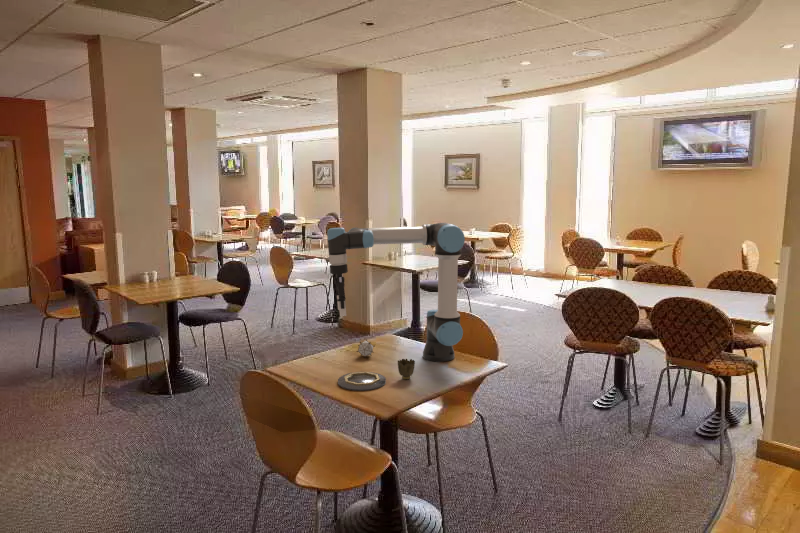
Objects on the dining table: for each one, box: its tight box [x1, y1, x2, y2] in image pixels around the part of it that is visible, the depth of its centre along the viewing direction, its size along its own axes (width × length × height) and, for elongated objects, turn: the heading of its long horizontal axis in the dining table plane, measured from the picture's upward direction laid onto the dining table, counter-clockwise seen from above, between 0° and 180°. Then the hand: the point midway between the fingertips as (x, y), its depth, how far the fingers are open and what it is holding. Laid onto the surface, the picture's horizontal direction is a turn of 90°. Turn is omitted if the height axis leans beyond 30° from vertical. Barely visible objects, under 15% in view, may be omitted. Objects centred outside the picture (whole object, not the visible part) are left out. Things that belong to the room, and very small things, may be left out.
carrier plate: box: [337, 371, 387, 392], centre depth 245 cm, size 20×20×2 cm
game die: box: [356, 338, 376, 359], centre depth 280 cm, size 9×8×10 cm
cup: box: [397, 358, 416, 381], centre depth 249 cm, size 8×7×8 cm
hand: (342, 312), depth 252 cm, fingers open, 13 cm apart
